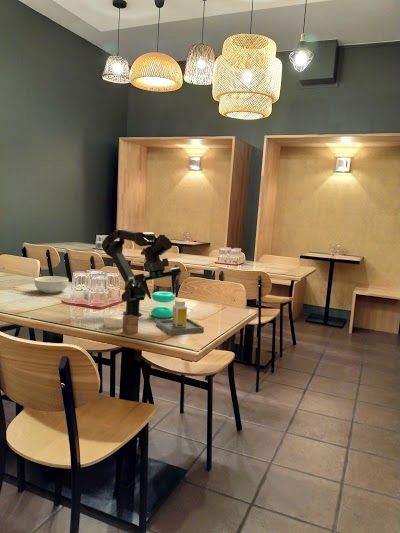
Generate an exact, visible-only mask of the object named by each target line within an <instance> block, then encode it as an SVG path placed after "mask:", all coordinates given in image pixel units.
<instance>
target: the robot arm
mask: <svg viewBox="0 0 400 533" xmlns="http://www.w3.org/2000/svg"><path fill="white" fill-rule="evenodd" d="M125 240H126V241H131V242H134V243H135V244H136V245H137V246H139V247H145V248H142V251H141V252H140V255H141V256H144V258H145V263H146V267H147V270H148V275H145V274H144V273H139V274H134V272H133V271H132V269H131V266H130V265H129V263H128V261H127V259H126V257H125V255H124V253H123V250H124V247H123V246H124V244H125ZM101 248H102V250H103V251H104V252H105V254H106V255H107V256H109V257H110V258H111V259H112V260H113V262H114V264H115V266H116V268H117V270H118V272H119V274H120V276H121V278H122V280H123V282H124V288H123V289H124V291H123V293H122V294H121V301H122V302H125V311H123V314H124V316H127V315H134V316H137V317H139V316H142V315H143V314H142V313H141V312H140V302H141V301H144V300H145V299H146V295H147V297H148V298H149V300H152V295H151V292H150V288H149V286H148V283H147V281H151V280H157V279H162V278H168V277H169V284H170V291H171V293H172V294H174V295H175V286H176V281H177V280H178V279H179V278H180V276H181V274H182V270H181V268H180V267H179V266H177V267H171V268H169V271H165V270H166V269H165V267H166V268H167V267H169V266H170V263H169V260H168V258H167V257H166V258H162V259H161V256H162V255H164V254H166V253H167V251H169V250H170V249H172V248H173V243H172V241H171V239H169V238H168V237H167V236H166V235H165V233H164V234H162V233H160V234H159V235H158V236H157V235H156V233H155V232H153V231H151V232H150V231H149V232H147V231H141V232H140V231H139V232H137V231H132V230H127V229H124V228H115V229H114V230H113V231H112V232H111V233H110V234H109V235H107V236H106V237H105V238H104V239H103V240H102V243H101Z"/></svg>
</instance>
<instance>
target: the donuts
mask: <svg viewBox="0 0 400 533" xmlns="http://www.w3.org/2000/svg"><path fill="white" fill-rule="evenodd" d="M151 299H152V300H153V301H155V302H157V303H162V304H163V303H165V304H166V303H171V302H173V301H175V300H176V295H175V293H174V294H172V291H171V292H169V291H155V292H153V293H152V295H151ZM150 312H151V313H150V314H151V315H152V316H153V317H155V318H158V319H160V318H161V319H166V318H172V314H173V307H172V308H171V307H169V306H164V305H161V306H155V307H153V308H152V309H151V311H150Z"/></svg>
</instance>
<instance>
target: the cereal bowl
mask: <svg viewBox="0 0 400 533" xmlns="http://www.w3.org/2000/svg"><path fill="white" fill-rule="evenodd" d="M34 286H35V287H36V289H37V290H39V291H41V292H43V293H44V294H59V293H60V292H61V291H64V290H65V289H67V288H68V286H69V278H68V277H66V276H56V275H54V276H53V275H52V276H48V275H47V276H39V277H35V278H34ZM58 292H59V293H58Z"/></svg>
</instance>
